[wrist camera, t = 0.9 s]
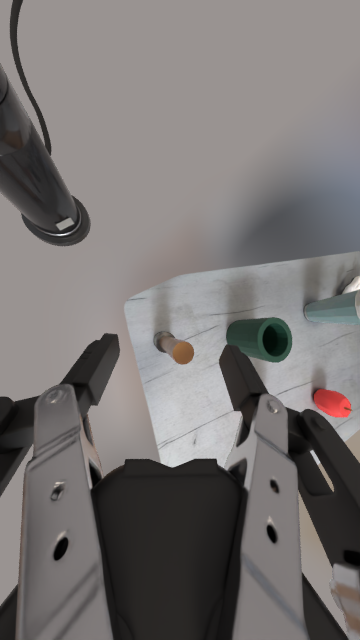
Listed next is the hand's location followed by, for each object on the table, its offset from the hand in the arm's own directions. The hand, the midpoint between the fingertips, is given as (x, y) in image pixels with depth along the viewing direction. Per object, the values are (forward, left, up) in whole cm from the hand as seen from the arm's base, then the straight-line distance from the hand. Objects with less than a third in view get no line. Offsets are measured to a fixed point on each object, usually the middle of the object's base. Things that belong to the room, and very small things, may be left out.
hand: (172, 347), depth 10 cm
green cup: (+15, +21, -24) cm, 35 cm away
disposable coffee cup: (+24, +51, -24) cm, 62 cm away
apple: (+50, +36, -24) cm, 66 cm away
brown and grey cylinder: (+3, +1, -24) cm, 24 cm away
